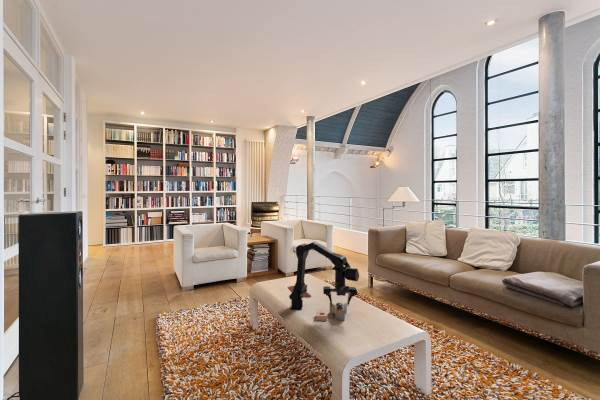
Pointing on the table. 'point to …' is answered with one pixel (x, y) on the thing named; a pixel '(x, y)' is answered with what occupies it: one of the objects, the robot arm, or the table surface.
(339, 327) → the table surface
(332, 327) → the table surface
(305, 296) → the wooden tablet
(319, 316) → the pin holder
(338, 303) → the hinge pin
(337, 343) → the table surface
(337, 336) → the table surface
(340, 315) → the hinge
